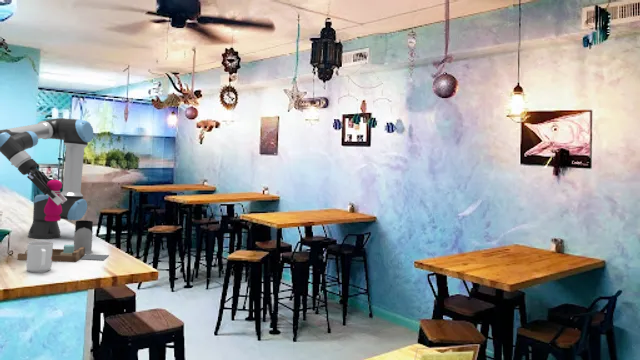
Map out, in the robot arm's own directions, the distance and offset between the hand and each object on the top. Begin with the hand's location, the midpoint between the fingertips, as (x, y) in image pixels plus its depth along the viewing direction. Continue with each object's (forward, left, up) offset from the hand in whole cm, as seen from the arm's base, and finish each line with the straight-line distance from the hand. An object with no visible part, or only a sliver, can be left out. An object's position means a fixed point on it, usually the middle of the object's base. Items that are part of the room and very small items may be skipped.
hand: (62, 202), depth 216 cm
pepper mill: (0, -4, -8) cm, 9 cm away
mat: (-3, +14, -25) cm, 29 cm away
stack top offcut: (-1, +4, -23) cm, 23 cm away
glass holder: (-16, +5, -26) cm, 31 cm away
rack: (0, -3, -25) cm, 26 cm away
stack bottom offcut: (-1, +4, -26) cm, 26 cm away
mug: (+24, 0, -26) cm, 35 cm away
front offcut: (0, -11, -26) cm, 28 cm away
